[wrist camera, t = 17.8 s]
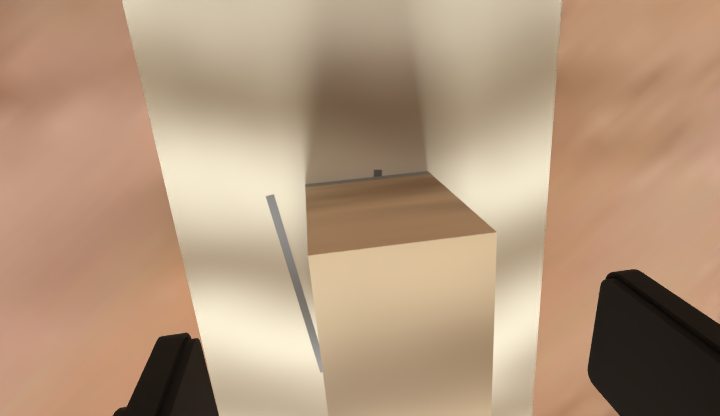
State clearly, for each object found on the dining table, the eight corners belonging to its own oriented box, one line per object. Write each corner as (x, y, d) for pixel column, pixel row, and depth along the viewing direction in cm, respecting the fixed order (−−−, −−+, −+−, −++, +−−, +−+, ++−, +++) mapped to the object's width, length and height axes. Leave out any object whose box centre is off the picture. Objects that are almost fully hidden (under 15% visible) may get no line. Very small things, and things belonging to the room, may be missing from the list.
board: (135, -11, 14) (117, -19, 13) (541, -36, 16) (565, -46, 14) (238, 450, 21) (233, 478, 20) (516, 404, 22) (531, 427, 21)
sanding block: (305, 184, 16) (307, 255, 10) (427, 170, 16) (497, 231, 10) (325, 347, 18) (336, 480, 12) (431, 332, 18) (490, 453, 13)
